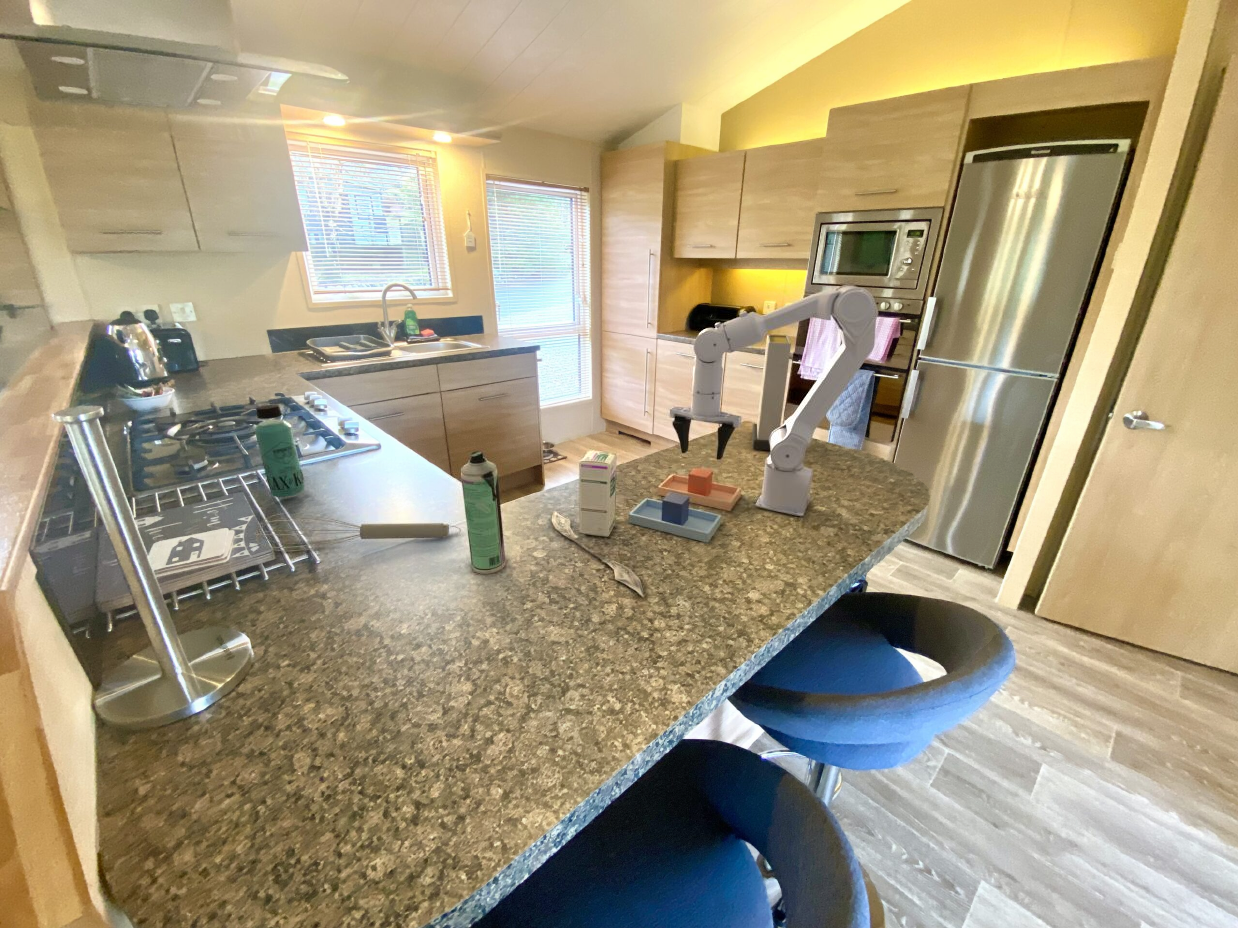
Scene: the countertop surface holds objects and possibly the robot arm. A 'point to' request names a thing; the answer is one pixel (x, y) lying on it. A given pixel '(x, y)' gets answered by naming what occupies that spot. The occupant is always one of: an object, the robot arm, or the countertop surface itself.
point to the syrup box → (597, 493)
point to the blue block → (675, 508)
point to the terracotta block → (700, 481)
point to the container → (772, 390)
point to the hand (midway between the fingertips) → (701, 454)
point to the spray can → (483, 514)
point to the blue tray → (695, 527)
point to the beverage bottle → (278, 453)
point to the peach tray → (717, 498)
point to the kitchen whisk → (372, 531)
